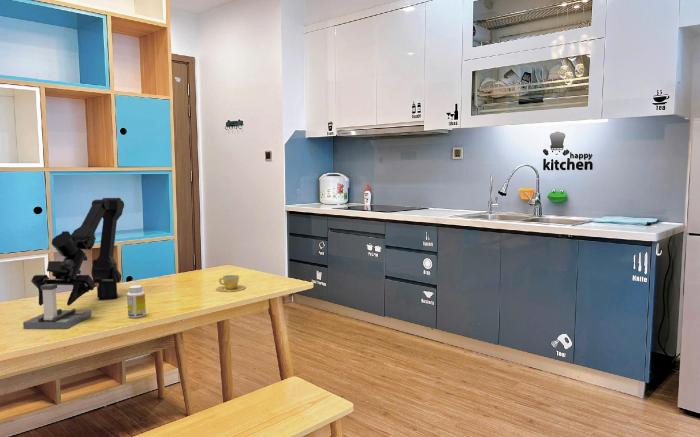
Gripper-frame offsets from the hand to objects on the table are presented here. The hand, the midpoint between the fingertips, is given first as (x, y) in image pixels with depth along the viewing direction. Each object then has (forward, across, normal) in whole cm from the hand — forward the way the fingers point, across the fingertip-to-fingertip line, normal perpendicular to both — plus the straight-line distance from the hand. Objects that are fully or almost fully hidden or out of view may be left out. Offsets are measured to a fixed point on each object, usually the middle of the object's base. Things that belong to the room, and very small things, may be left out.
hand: (53, 305), depth 164 cm
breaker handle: (+4, 0, +1) cm, 4 cm away
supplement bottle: (-2, +23, +11) cm, 25 cm away
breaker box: (+4, 0, +5) cm, 6 cm away
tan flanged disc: (-30, +44, +40) cm, 66 cm away
